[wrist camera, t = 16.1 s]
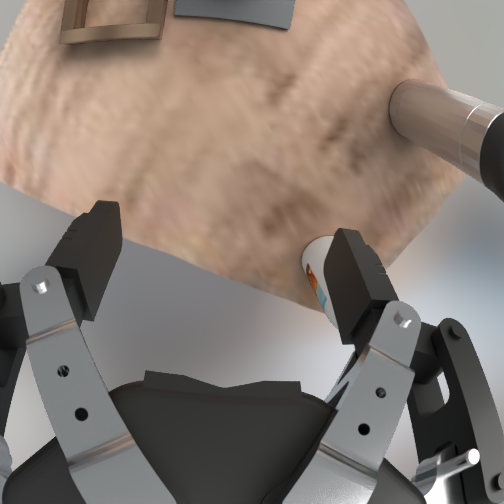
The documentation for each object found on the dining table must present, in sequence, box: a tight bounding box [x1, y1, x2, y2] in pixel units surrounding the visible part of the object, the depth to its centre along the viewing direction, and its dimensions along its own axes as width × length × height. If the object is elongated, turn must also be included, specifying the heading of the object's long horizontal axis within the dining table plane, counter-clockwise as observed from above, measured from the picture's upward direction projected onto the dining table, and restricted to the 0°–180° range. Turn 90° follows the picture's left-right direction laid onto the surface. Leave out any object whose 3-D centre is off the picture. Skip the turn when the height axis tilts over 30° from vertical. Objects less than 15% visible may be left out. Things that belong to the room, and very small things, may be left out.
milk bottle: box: [302, 236, 339, 330], centre depth 41 cm, size 8×8×20 cm
